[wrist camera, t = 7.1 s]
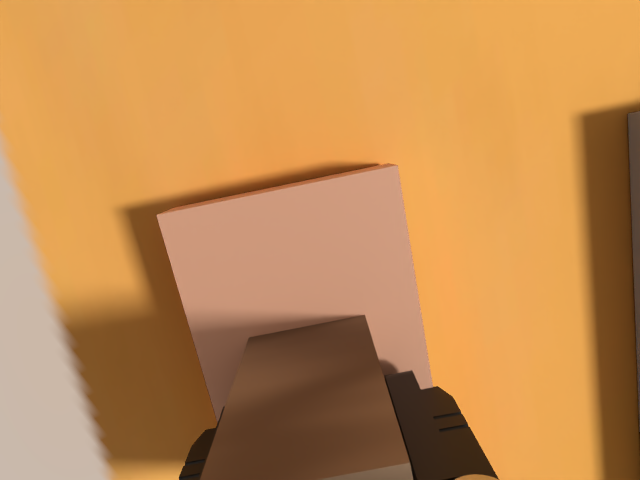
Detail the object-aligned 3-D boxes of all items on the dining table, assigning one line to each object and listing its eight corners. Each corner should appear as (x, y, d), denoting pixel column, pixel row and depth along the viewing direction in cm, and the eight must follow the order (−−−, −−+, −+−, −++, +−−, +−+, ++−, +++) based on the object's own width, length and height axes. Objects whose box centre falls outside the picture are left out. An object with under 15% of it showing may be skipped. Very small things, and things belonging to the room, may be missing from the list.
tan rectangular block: (388, 163, 11) (484, 182, 5) (449, 532, 13) (561, 851, 7) (173, 207, 11) (-2, 281, 5) (274, 563, 14) (242, 900, 7)
